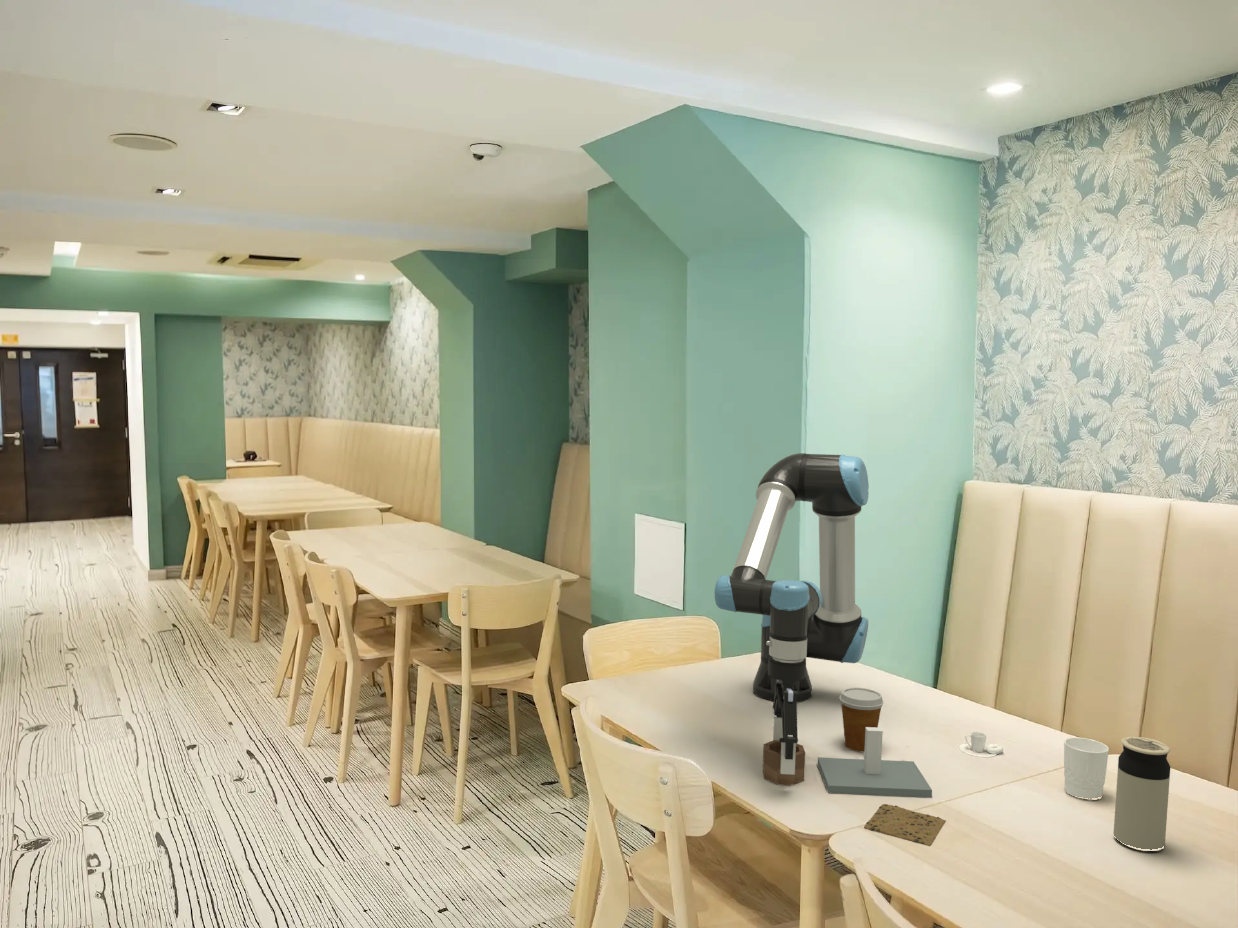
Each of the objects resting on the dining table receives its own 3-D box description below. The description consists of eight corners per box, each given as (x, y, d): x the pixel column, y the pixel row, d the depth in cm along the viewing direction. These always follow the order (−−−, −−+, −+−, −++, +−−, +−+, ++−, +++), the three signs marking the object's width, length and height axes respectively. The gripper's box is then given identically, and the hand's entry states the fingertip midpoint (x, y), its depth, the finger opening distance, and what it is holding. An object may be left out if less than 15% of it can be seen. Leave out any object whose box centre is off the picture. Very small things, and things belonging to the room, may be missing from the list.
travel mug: (1143, 857, 160) (1150, 755, 158) (1103, 836, 167) (1109, 738, 165) (1175, 848, 163) (1182, 749, 161) (1133, 828, 170) (1140, 733, 169)
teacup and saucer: (1006, 753, 206) (1007, 735, 206) (992, 763, 200) (993, 744, 200) (967, 742, 212) (968, 724, 212) (952, 751, 206) (953, 734, 206)
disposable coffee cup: (832, 749, 205) (834, 696, 204) (843, 735, 213) (845, 684, 212) (876, 758, 201) (878, 703, 200) (885, 743, 209) (888, 691, 208)
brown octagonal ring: (761, 767, 194) (762, 738, 194) (800, 769, 194) (801, 740, 193) (765, 783, 186) (766, 753, 186) (805, 785, 186) (806, 755, 185)
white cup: (1088, 805, 180) (1091, 755, 179) (1052, 789, 187) (1055, 740, 186) (1114, 797, 183) (1117, 748, 182) (1078, 782, 190) (1081, 734, 189)
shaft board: (817, 764, 197) (819, 715, 196) (913, 768, 196) (915, 719, 195) (828, 792, 183) (830, 740, 182) (931, 797, 182) (934, 745, 181)
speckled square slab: (931, 849, 162) (931, 843, 162) (862, 830, 168) (862, 824, 168) (947, 822, 172) (947, 817, 172) (882, 805, 178) (882, 800, 178)
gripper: (762, 641, 201) (759, 737, 202) (775, 675, 176) (771, 784, 177) (797, 642, 200) (793, 738, 202) (815, 676, 175) (811, 786, 177)
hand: (783, 760), depth 189 cm, fingers open, 13 cm apart
